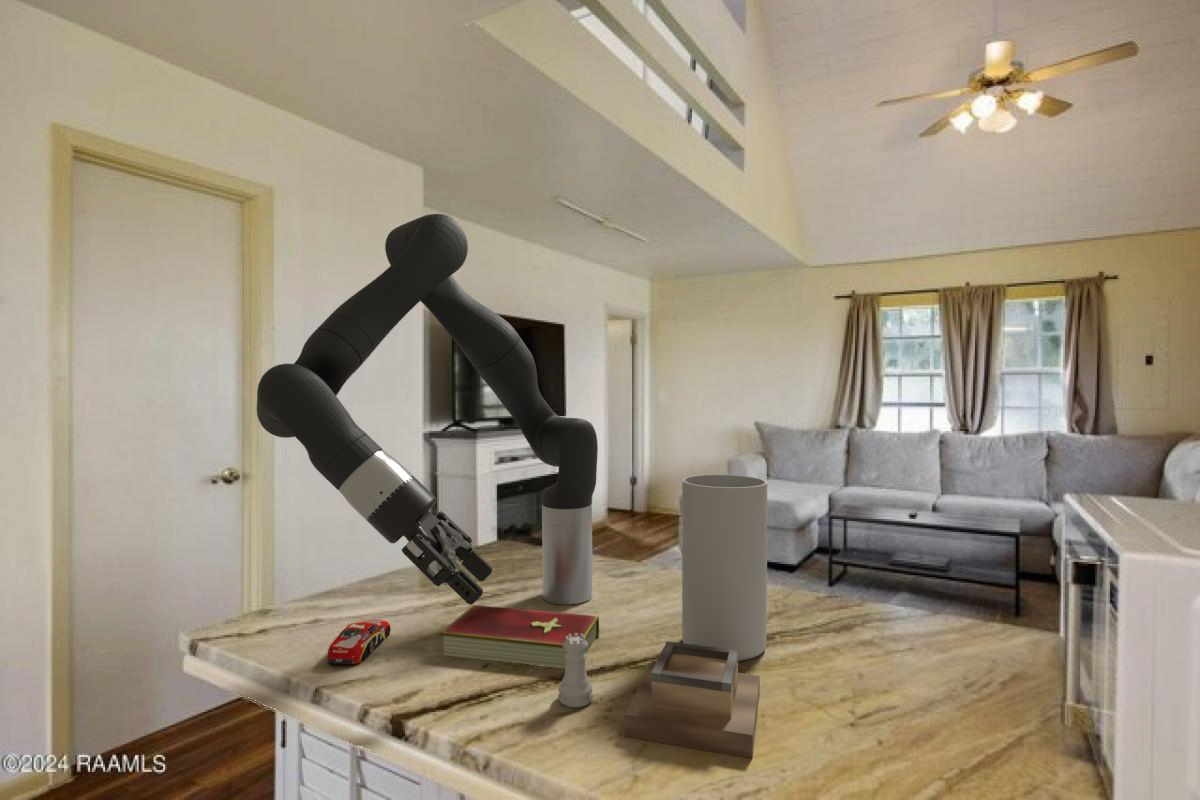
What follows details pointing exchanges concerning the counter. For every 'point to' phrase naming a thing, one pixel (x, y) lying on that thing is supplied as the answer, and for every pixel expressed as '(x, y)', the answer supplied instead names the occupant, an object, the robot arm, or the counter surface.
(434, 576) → the robot arm
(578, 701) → the rook chess piece
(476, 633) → the hardcover book
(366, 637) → the race car
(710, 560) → the cylinder vase
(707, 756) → the counter surface
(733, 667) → the walnut plinth
